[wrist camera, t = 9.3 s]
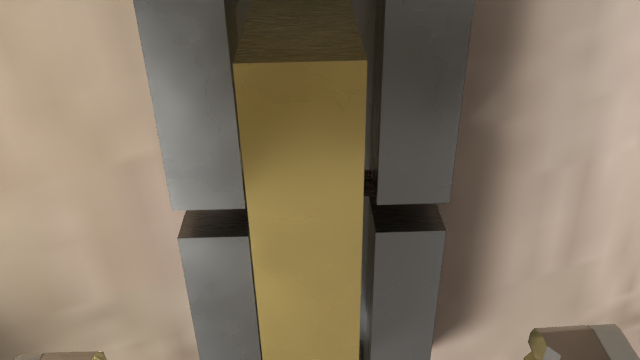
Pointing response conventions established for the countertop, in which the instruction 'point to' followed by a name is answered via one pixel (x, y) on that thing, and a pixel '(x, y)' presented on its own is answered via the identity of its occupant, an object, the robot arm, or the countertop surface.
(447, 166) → the grey forked link
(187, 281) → the link
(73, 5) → the countertop surface
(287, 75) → the tall mustard post
